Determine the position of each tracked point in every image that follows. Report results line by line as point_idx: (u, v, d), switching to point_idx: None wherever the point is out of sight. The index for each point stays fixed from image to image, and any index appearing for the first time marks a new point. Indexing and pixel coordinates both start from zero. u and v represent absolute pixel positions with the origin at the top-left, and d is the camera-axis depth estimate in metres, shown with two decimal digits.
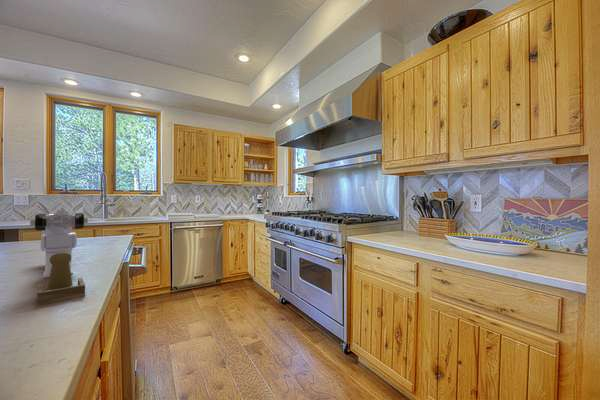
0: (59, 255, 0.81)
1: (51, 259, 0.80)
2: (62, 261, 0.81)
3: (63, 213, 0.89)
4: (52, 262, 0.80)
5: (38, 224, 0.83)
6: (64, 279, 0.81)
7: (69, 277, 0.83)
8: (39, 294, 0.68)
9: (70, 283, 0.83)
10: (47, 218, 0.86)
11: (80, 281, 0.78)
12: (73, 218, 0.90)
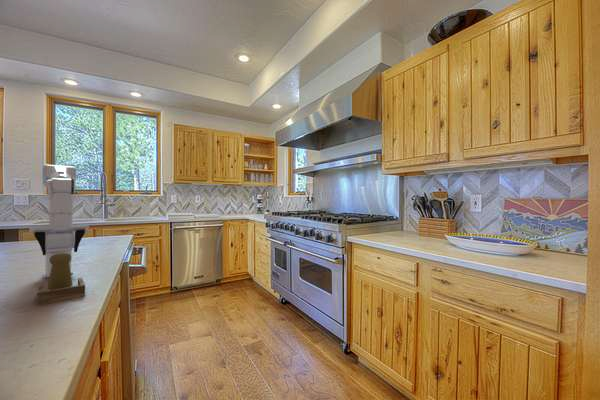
0: (59, 255, 0.81)
1: (51, 259, 0.80)
2: (62, 261, 0.81)
3: (64, 228, 0.83)
4: (52, 262, 0.80)
5: None
6: (64, 279, 0.81)
7: (69, 277, 0.83)
8: (39, 294, 0.68)
9: (70, 283, 0.83)
10: (47, 229, 0.82)
11: (80, 281, 0.78)
12: (74, 228, 0.87)
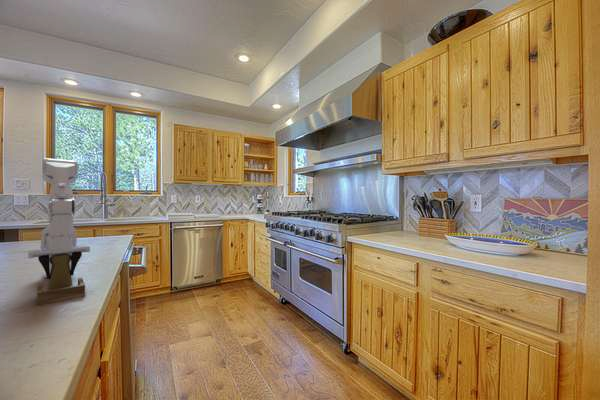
0: (59, 255, 0.81)
1: (51, 259, 0.80)
2: (62, 261, 0.81)
3: (64, 252, 0.81)
4: (52, 262, 0.80)
5: None
6: (64, 279, 0.81)
7: (69, 277, 0.83)
8: (39, 294, 0.68)
9: (70, 283, 0.83)
10: (46, 253, 0.79)
11: (80, 281, 0.78)
12: None
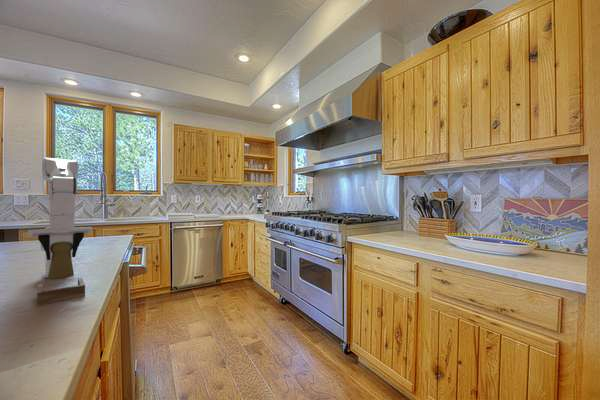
0: (59, 243, 0.77)
1: (51, 247, 0.76)
2: (63, 250, 0.77)
3: (65, 231, 0.77)
4: (52, 250, 0.76)
5: None
6: (64, 269, 0.77)
7: (70, 267, 0.79)
8: (39, 294, 0.68)
9: (71, 273, 0.79)
10: (46, 232, 0.75)
11: (80, 281, 0.78)
12: (76, 230, 0.80)
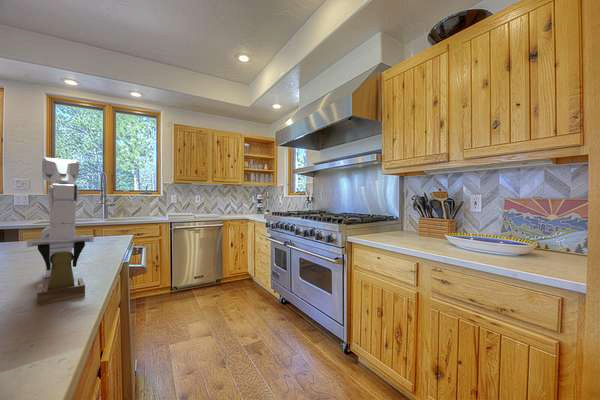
0: (59, 254, 0.74)
1: (51, 258, 0.74)
2: (63, 261, 0.74)
3: (66, 241, 0.74)
4: (52, 261, 0.74)
5: None
6: (64, 280, 0.75)
7: (70, 278, 0.76)
8: (39, 294, 0.68)
9: (71, 284, 0.77)
10: (46, 241, 0.73)
11: (80, 281, 0.78)
12: None
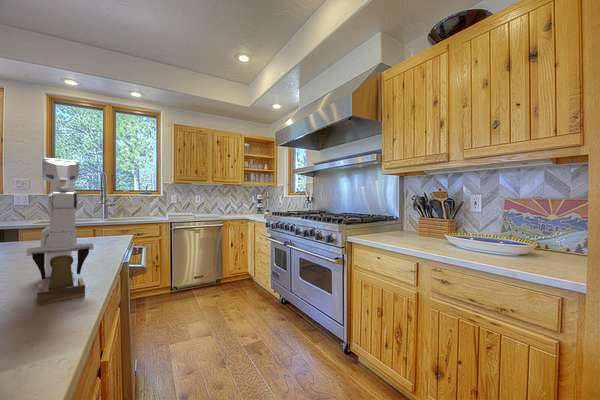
0: (59, 257, 0.75)
1: (51, 261, 0.74)
2: (62, 264, 0.75)
3: None
4: (52, 265, 0.74)
5: None
6: (64, 284, 0.75)
7: (70, 281, 0.76)
8: (39, 294, 0.68)
9: None
10: None
11: (80, 281, 0.78)
12: None
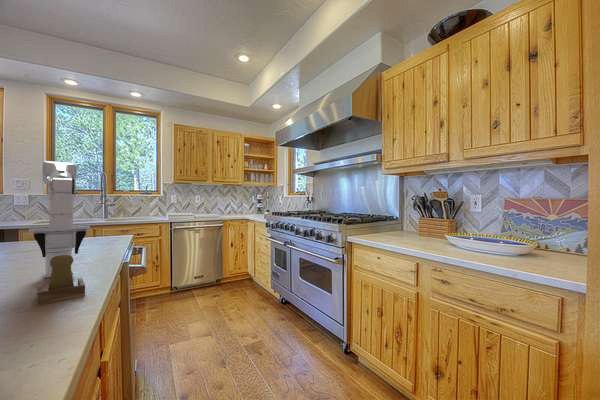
0: (59, 257, 0.75)
1: (51, 261, 0.74)
2: (62, 264, 0.75)
3: (64, 230, 0.81)
4: (52, 265, 0.74)
5: None
6: (64, 284, 0.75)
7: (70, 281, 0.76)
8: (39, 294, 0.68)
9: None
10: (46, 230, 0.80)
11: (80, 281, 0.78)
12: None
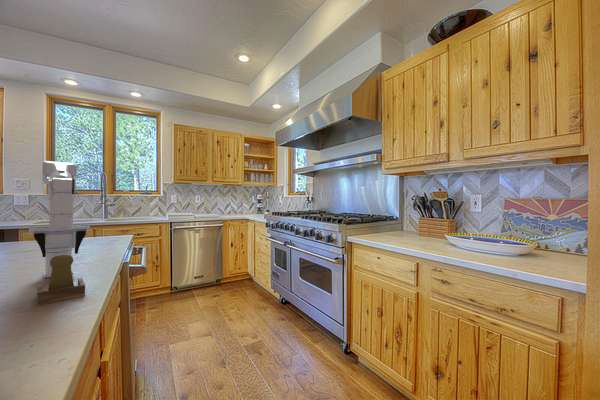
0: (59, 257, 0.75)
1: (51, 261, 0.74)
2: (62, 264, 0.75)
3: (64, 230, 0.81)
4: (52, 265, 0.74)
5: None
6: (64, 284, 0.75)
7: (70, 281, 0.76)
8: (39, 294, 0.68)
9: None
10: (46, 230, 0.80)
11: (80, 281, 0.78)
12: None
